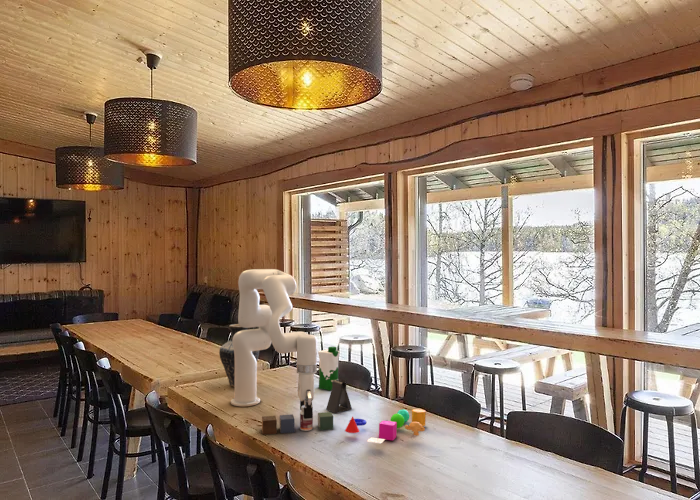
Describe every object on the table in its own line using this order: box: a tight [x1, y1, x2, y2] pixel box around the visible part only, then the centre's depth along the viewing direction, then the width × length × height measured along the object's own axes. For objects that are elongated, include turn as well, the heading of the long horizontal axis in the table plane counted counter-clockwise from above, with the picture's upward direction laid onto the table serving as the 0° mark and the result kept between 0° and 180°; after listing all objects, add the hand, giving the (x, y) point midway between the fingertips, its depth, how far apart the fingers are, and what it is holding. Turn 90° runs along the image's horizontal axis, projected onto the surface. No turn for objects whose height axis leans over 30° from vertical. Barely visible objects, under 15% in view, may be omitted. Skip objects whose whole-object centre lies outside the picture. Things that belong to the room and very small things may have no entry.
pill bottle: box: [299, 405, 314, 432], centre depth 188 cm, size 5×5×8 cm
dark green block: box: [317, 411, 334, 431], centre depth 190 cm, size 5×5×5 cm
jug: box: [218, 323, 261, 388], centre depth 249 cm, size 21×19×30 cm
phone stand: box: [325, 379, 353, 414], centre depth 212 cm, size 9×6×12 cm, turn 127°
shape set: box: [344, 408, 427, 444], centre depth 183 cm, size 29×35×7 cm
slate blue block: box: [279, 413, 296, 434], centre depth 187 cm, size 5×5×5 cm
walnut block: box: [261, 415, 278, 436], centre depth 185 cm, size 5×5×5 cm
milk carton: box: [317, 346, 341, 392], centre depth 245 cm, size 9×9×20 cm
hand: (306, 414), depth 188 cm, fingers open, 9 cm apart
